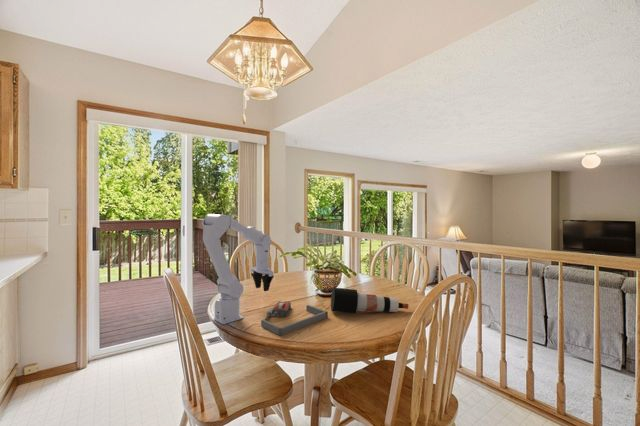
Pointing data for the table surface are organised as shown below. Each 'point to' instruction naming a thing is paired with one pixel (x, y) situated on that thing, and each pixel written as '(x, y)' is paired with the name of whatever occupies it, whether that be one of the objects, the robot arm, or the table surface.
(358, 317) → the table surface
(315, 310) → the charging dock
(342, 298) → the striped bottle
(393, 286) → the table surface
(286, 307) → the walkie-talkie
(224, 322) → the robot arm
